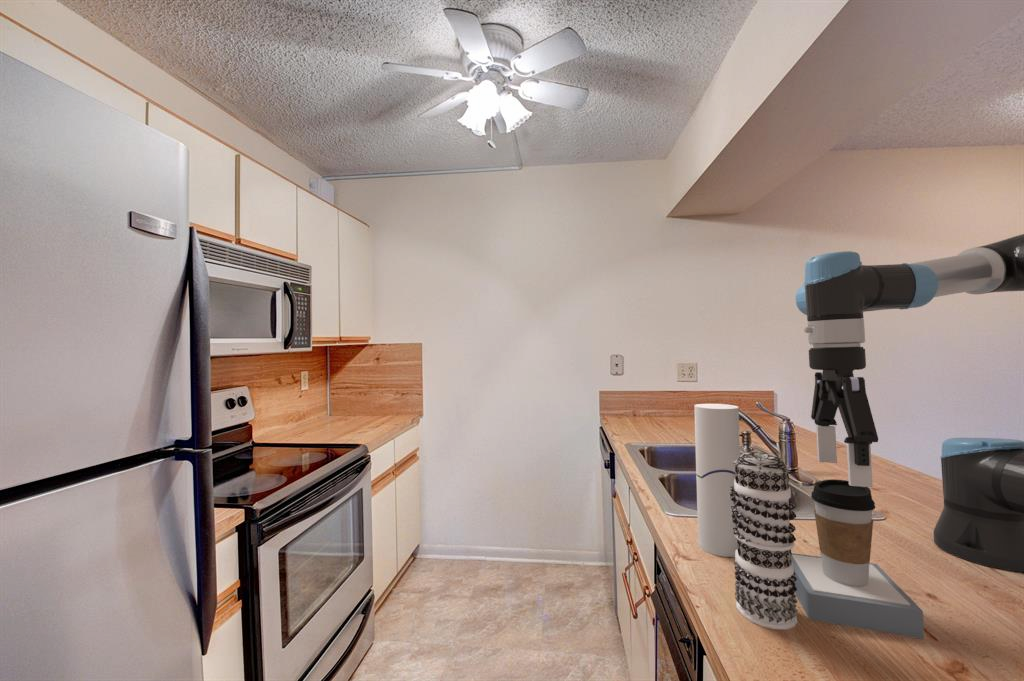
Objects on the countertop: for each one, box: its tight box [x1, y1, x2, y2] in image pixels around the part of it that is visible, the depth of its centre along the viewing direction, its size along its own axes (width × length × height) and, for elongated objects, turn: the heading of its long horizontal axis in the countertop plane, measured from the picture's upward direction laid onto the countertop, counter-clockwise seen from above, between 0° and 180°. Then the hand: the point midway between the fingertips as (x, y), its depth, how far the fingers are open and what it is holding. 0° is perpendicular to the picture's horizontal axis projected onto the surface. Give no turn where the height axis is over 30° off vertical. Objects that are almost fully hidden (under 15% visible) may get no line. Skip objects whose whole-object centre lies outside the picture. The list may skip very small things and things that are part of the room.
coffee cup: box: [811, 478, 876, 586], centre depth 69 cm, size 8×8×15 cm
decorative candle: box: [730, 451, 799, 630], centre depth 67 cm, size 9×9×25 cm
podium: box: [791, 552, 925, 640], centre depth 69 cm, size 14×14×4 cm
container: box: [693, 403, 741, 558], centre depth 89 cm, size 9×9×30 cm
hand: (842, 473), depth 70 cm, fingers open, 13 cm apart
